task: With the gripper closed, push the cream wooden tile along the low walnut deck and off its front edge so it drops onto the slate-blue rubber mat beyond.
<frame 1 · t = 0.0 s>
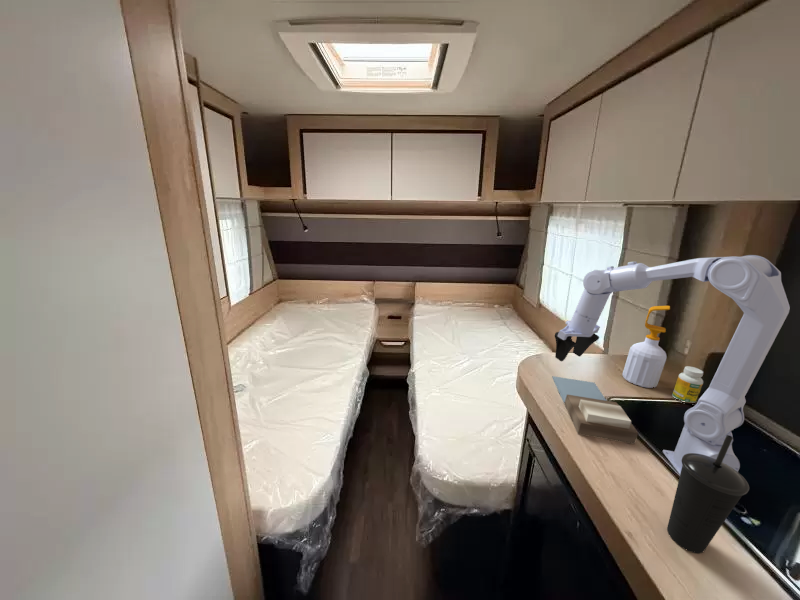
hand: (567, 356, 93), 11 cm above the counter, tool pointing down, fingers open, 7 cm apart
deck: (596, 422, 83), on the counter
supplement bottle: (682, 400, 96), on the counter
tile: (602, 417, 80), point 3 cm above the counter, touching deck
soap bottle: (638, 381, 105), on the counter
drinking cup: (684, 539, 55), on the counter
mat: (579, 392, 96), on the counter
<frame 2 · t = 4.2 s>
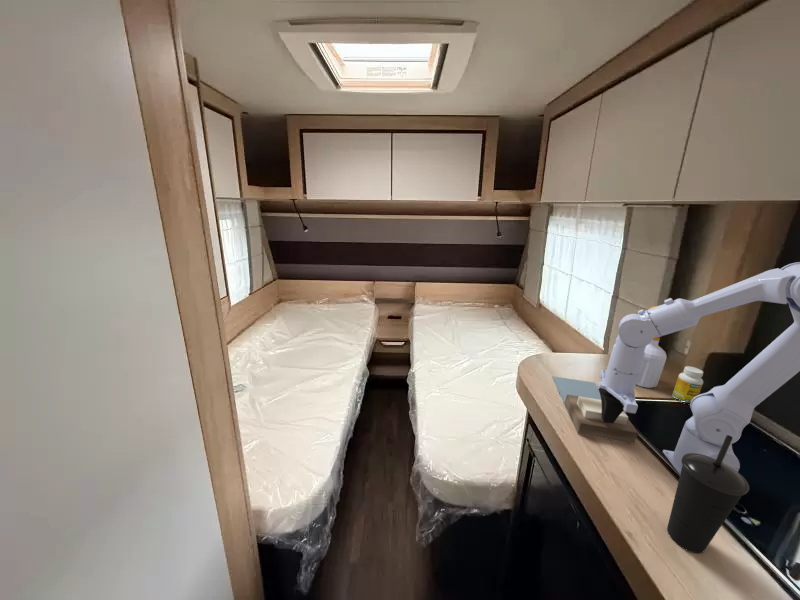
hand: (607, 420, 77), 4 cm above the counter, tool pointing down, fingers closed
tile: (600, 413, 81), point 3 cm above the counter, touching deck
everything else where it was.
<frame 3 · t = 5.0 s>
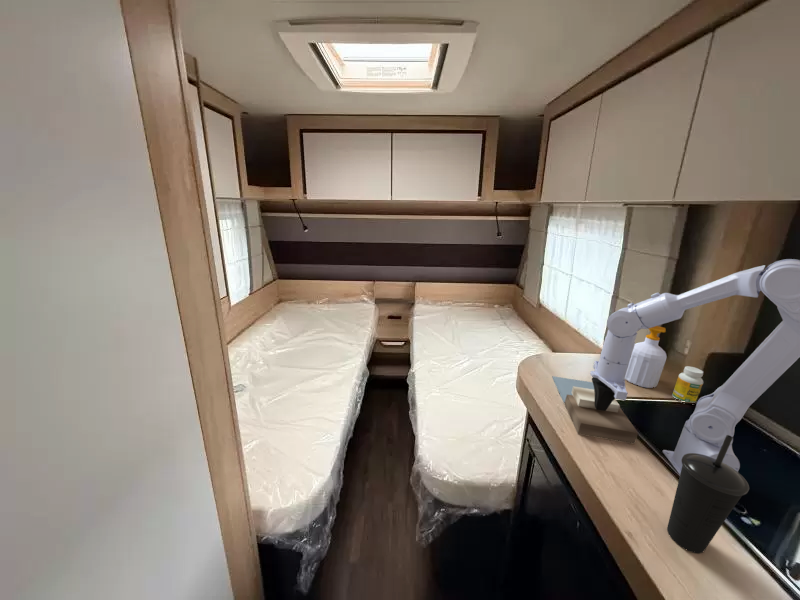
hand: (600, 408, 82), 4 cm above the counter, tool pointing down, fingers closed
tile: (593, 402, 86), point 3 cm above the counter, touching deck, gripper
everything else where it was.
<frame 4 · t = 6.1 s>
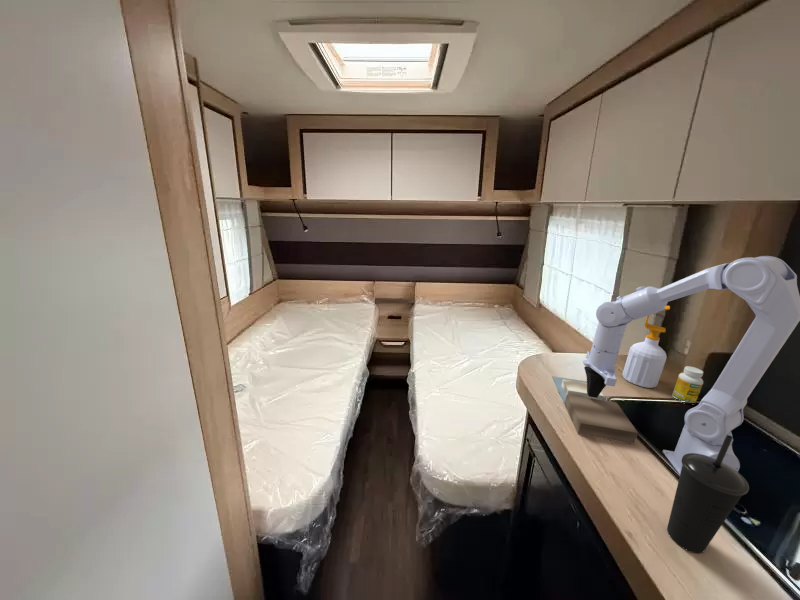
hand: (592, 395, 87), 4 cm above the counter, tool pointing down, fingers closed
tile: (582, 387, 94), point 2 cm above the counter, tilted 180°, touching mat
everything else where it was.
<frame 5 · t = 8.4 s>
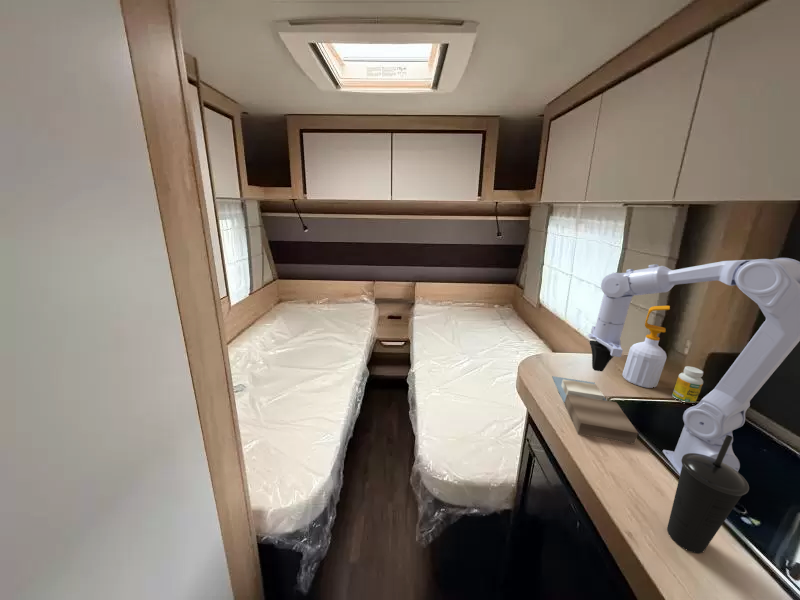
hand: (597, 369, 87), 10 cm above the counter, tool pointing down, fingers closed
nothing on the counter moved.
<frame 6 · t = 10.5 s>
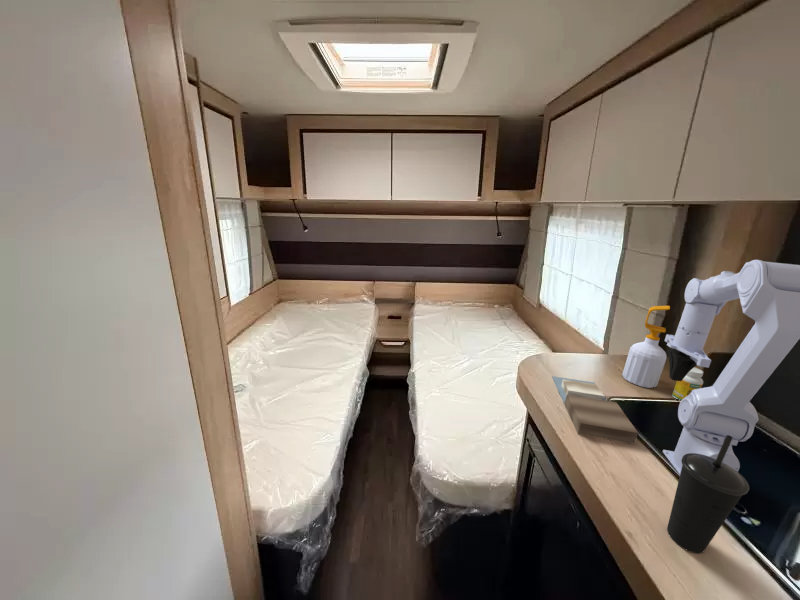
hand: (675, 379, 85), 10 cm above the counter, tool pointing down, fingers closed
nothing on the counter moved.
at the end: tile inside the target area on the mat (0.9 cm from its centre), point 2.3 cm above the mat's base; tile touching mat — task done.
